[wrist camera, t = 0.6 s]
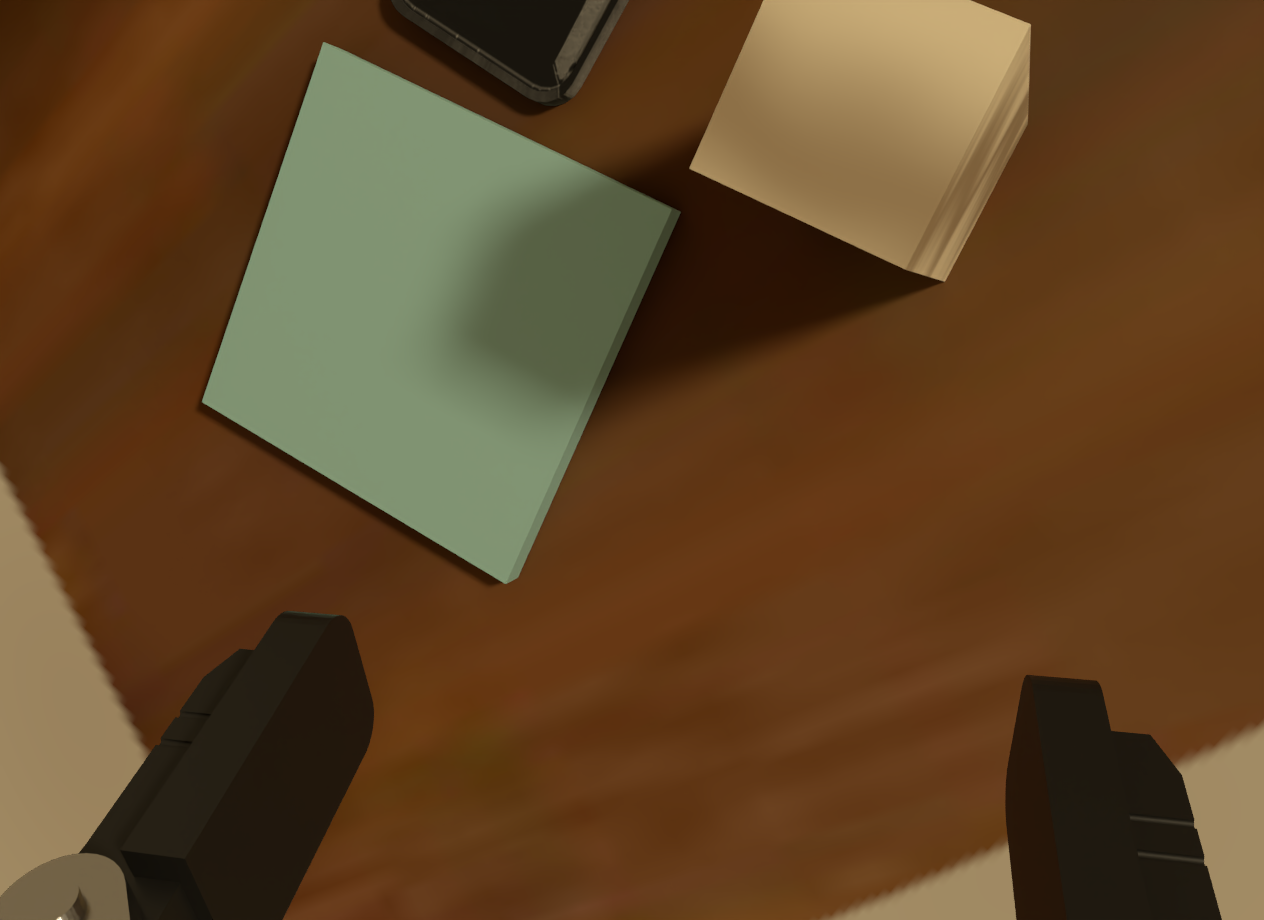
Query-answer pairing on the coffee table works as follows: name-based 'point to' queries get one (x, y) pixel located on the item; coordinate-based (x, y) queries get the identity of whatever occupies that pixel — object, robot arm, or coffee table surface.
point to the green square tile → (433, 308)
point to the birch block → (874, 120)
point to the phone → (523, 38)
